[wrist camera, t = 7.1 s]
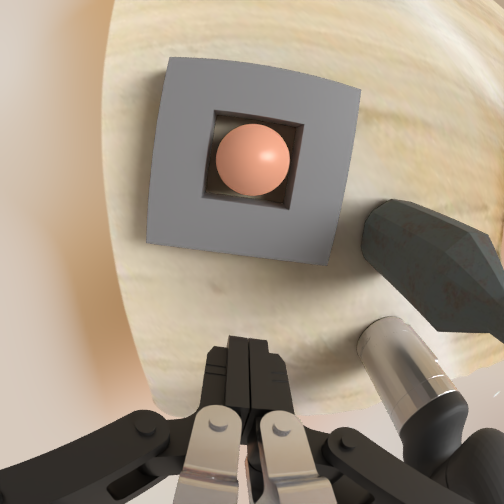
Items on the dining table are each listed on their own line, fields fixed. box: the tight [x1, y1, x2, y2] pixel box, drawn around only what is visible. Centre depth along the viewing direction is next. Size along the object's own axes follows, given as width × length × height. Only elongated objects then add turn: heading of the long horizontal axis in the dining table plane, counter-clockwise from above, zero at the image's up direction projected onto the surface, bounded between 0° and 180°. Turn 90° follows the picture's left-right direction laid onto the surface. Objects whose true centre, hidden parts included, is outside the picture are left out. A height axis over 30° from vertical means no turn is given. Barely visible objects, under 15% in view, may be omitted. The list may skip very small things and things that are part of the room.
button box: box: [146, 57, 361, 266], centre depth 28 cm, size 20×20×4 cm
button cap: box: [216, 124, 290, 196], centre depth 28 cm, size 7×7×4 cm
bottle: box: [361, 199, 504, 343], centre depth 20 cm, size 10×10×30 cm
